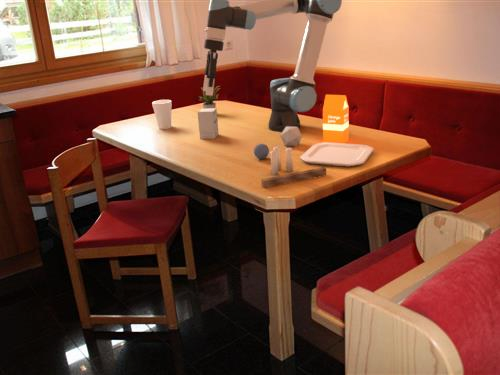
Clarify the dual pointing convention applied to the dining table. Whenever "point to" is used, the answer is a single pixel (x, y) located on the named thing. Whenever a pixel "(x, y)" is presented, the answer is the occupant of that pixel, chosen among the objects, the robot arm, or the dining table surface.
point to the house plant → (209, 99)
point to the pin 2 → (289, 160)
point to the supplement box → (208, 123)
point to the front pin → (278, 156)
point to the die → (291, 136)
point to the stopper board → (293, 177)
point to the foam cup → (163, 113)
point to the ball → (261, 151)
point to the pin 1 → (274, 163)
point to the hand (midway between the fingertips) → (207, 93)
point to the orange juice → (335, 119)
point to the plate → (337, 154)
